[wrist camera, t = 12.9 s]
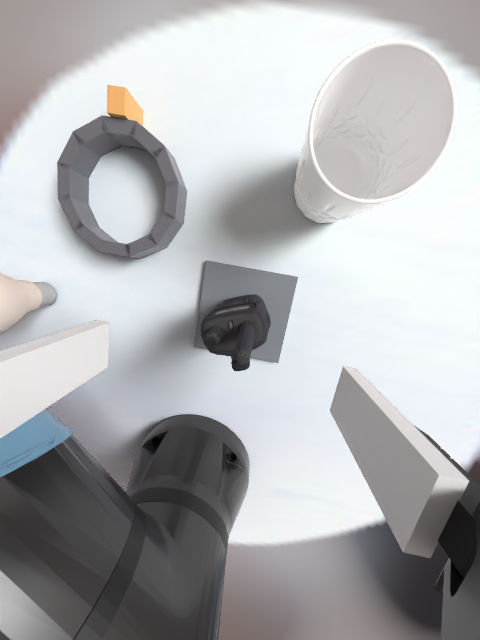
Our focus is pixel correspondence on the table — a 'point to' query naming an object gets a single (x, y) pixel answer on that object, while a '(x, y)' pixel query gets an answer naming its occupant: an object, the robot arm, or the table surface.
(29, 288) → the light bulb
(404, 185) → the white cup
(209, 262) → the mat
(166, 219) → the dock collar
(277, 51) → the table surface
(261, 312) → the two-way radio
